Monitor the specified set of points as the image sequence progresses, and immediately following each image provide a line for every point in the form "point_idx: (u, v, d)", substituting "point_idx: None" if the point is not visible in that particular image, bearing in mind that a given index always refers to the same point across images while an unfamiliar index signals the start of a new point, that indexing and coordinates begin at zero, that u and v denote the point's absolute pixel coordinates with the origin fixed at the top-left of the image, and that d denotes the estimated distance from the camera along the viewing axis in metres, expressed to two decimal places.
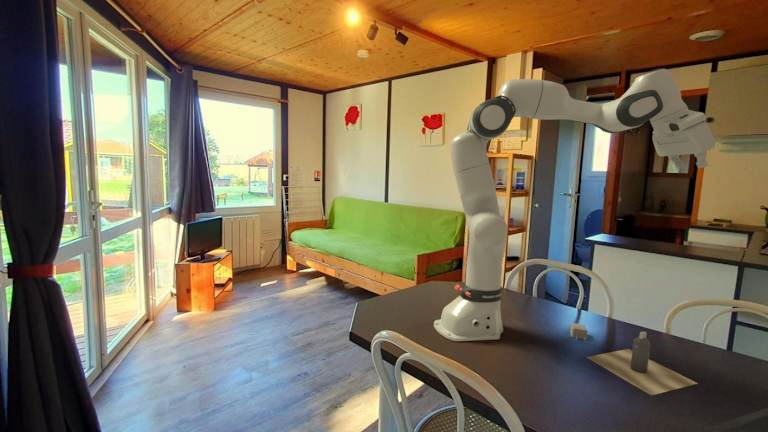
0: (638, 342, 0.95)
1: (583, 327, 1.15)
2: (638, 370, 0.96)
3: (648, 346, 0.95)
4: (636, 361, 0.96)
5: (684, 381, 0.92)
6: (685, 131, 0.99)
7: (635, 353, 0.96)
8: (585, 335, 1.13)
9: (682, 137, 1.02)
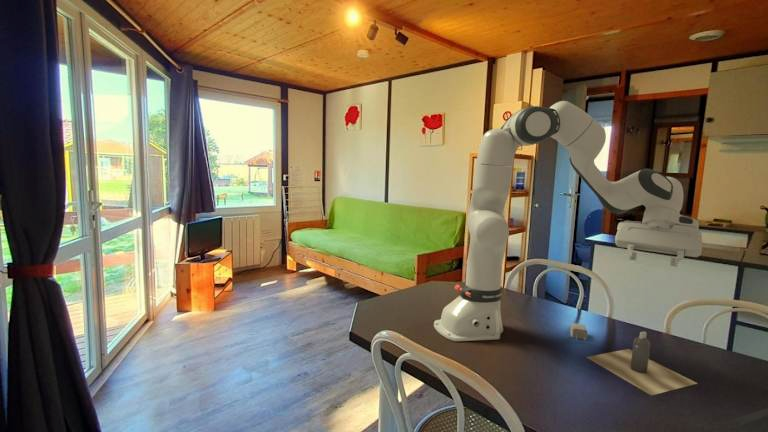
0: (638, 342, 0.95)
1: (583, 327, 1.15)
2: (638, 370, 0.96)
3: (648, 346, 0.95)
4: (636, 361, 0.96)
5: (684, 381, 0.92)
6: (695, 228, 1.03)
7: (635, 353, 0.96)
8: (585, 335, 1.14)
9: (677, 233, 1.05)
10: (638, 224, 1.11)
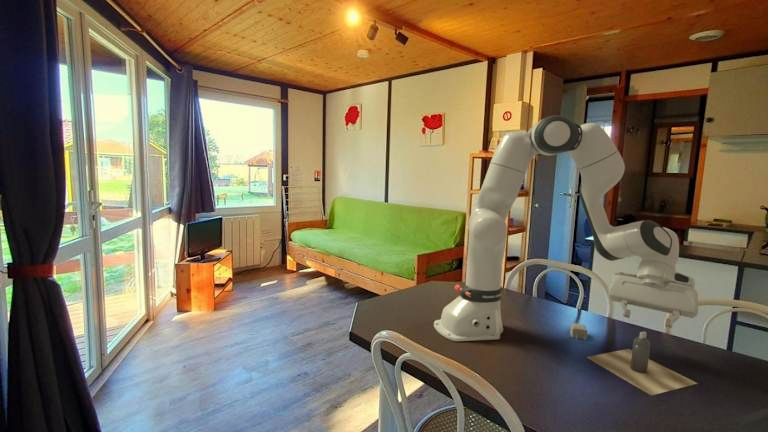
0: (638, 342, 0.95)
1: (583, 327, 1.15)
2: (638, 370, 0.96)
3: (648, 346, 0.95)
4: (636, 361, 0.96)
5: (684, 381, 0.92)
6: (691, 287, 0.99)
7: (635, 353, 0.96)
8: (585, 335, 1.14)
9: (672, 291, 1.01)
10: (632, 278, 1.08)
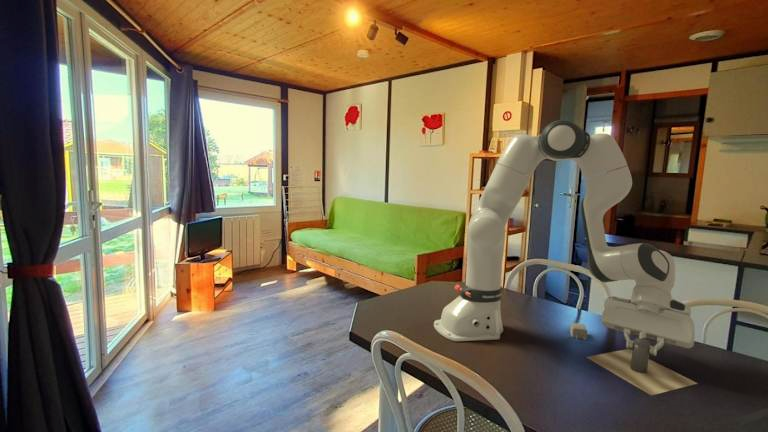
0: (638, 342, 0.95)
1: (583, 327, 1.16)
2: (638, 370, 0.96)
3: (648, 346, 0.95)
4: (636, 361, 0.96)
5: (684, 381, 0.92)
6: (687, 316, 0.94)
7: (635, 352, 0.96)
8: (585, 335, 1.14)
9: (667, 319, 0.96)
10: (626, 304, 1.03)
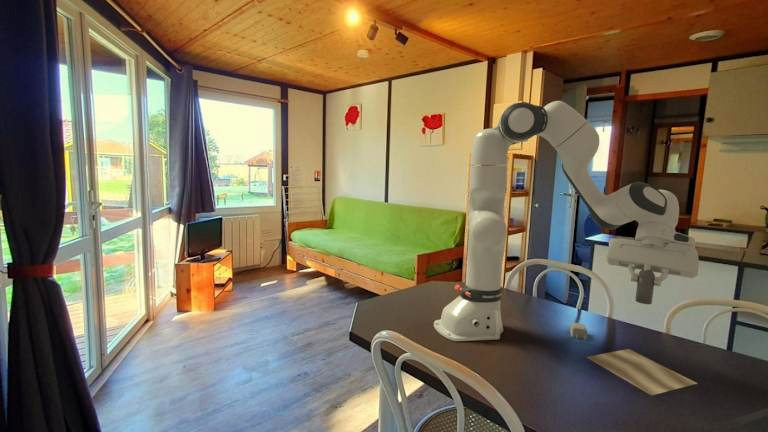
0: (643, 273, 0.97)
1: (583, 326, 1.16)
2: (643, 301, 0.97)
3: (653, 277, 0.96)
4: (641, 292, 0.97)
5: (684, 381, 0.92)
6: (691, 246, 0.95)
7: (640, 284, 0.97)
8: (585, 334, 1.14)
9: (671, 252, 0.98)
10: (631, 241, 1.04)
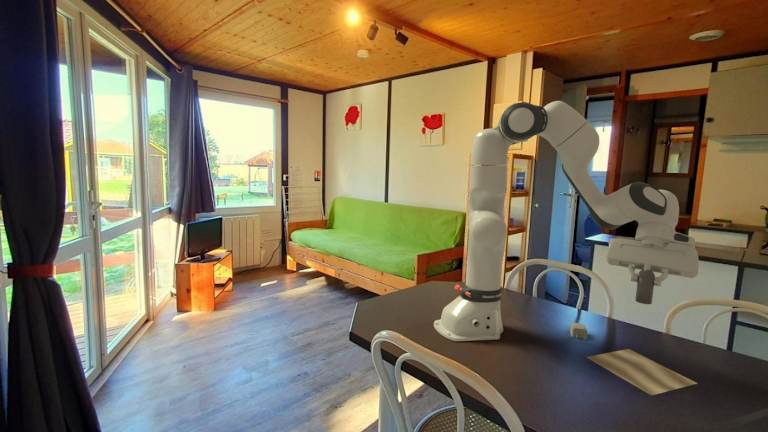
0: (643, 273, 0.97)
1: (583, 326, 1.16)
2: (643, 301, 0.97)
3: (653, 277, 0.96)
4: (641, 292, 0.97)
5: (684, 381, 0.92)
6: (691, 246, 0.96)
7: (640, 284, 0.97)
8: (585, 334, 1.14)
9: (671, 252, 0.98)
10: (631, 241, 1.04)
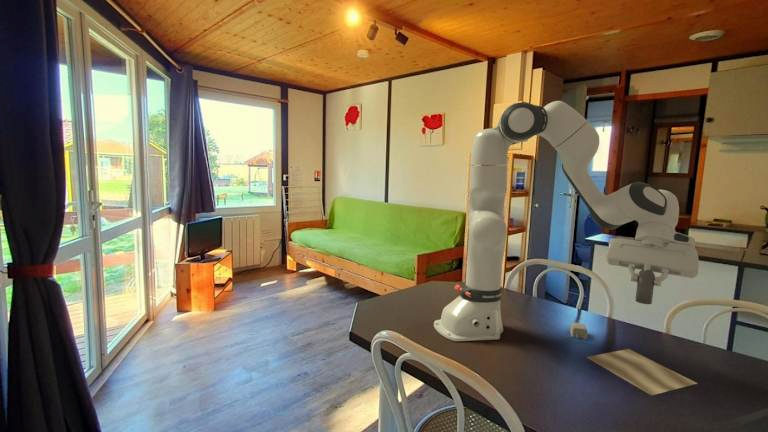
0: (643, 273, 0.97)
1: (583, 326, 1.16)
2: (643, 301, 0.97)
3: (653, 277, 0.96)
4: (641, 292, 0.97)
5: (684, 381, 0.92)
6: (691, 246, 0.96)
7: (640, 284, 0.97)
8: (585, 334, 1.14)
9: (671, 252, 0.98)
10: (631, 241, 1.04)
